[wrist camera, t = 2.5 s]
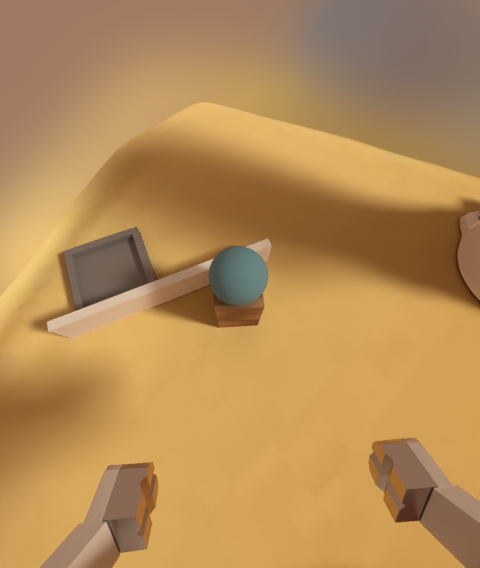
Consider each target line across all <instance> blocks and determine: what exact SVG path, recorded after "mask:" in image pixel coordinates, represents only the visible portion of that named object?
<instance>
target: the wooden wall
mask: <svg viewBox="0 0 480 568" xmlns="http://www.w3.org/2000/svg"><path fill="white" fill-rule="evenodd" d="M246 247H247V248H250V249H252V250H254V251H255V252H257V253H258V254H259V255H260V256H261V257H262V259H263V260H264V262H265V263H266V262H268V259H269V255H270V251H271V247H272V244H271V243H270V241H269V239H268V238H267V239H265V240H262V241H259V242H257V243H254V244H251V245H249V246H246ZM212 261H213V259H212V260H209V261H206V262H204V263H201V264H198V265H196V266H193V267H191V268H188V269H185V270H183V271H180V272H177V273H175V274H172V275H169V276H167V277H164V278H161V279H159V280H156V281H154V282H151V283H148V284H146V285H143V286H140V287H138V288H135V289H132V290H130V291H127V292H124V293H122V294H119V295H117V296H114V297H111V298H109V299H106V300H103V301H101V302H98V303H95V304H93V305H90V306H87V307H85V308H82V309H80V310H77V311H74V312H72V313H69V314H66V315H64V316H61V317H58V318H56V319H53V320H50V321H48V322H47V326H48V331H49V332H52V333H55V334H59V335H62V336H65V337H68V338H71V339H74V338H76V337H79V336H81V335H84V334H86V333H89V332H91V331H94V330H97V329H99V328H102V327H104V326H107V325H109V324H112V323H114V322H117V321H119V320H122V319H124V318H127V317H129V316H132V315H134V314H137V313H139V312H142V311H145V310H147V309H150V308H152V307H155V306H157V305H160V304H162V303H165V302H167V301H170V300H172V299H175V298H177V297H180V296H182V295H185V294H187V293H190V292H192V291H195V290H198V289H200V288H203V287H205V286H208V285H210V284H209V277H208V274H209V268H210V265H211V263H212Z"/></svg>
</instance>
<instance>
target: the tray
mask: <svg viewBox="0 0 480 568" xmlns="http://www.w3.org/2000/svg"><path fill="white" fill-rule="evenodd" d="M63 254H64V259H65V263H66V268H67V273H68V277H69V282H70V287H71V291H72V296H73V300H74V305H75V310H76V311H77V310H80V309H82V308H85V307H87V306H90V305H93V304H95V303H98V302H101V301H103V300H106V299H109V298H111V297H114V296H117V295H119V294H122V293H124V292H127V291H130V290H132V289H135V288H138V287H140V286H143V285H146V284H148V283H151V282H154V281H156V280H157V279H156V277H155V274H154V271H153V268H152V265H151V262H150V260H149V257H148V254H147V251H146V248H145V245H144V243H143V240H142V237H141V234H140V232H139V230H138V228H137V227H135V228H132V229H129V230H126V231H123V232H120V233H117V234H114V235H111V236H108V237H105V238H102V239H99V240H96V241H93V242H90V243H87V244H84V245H81V246H78V247H75V248H72V249H69V250H66V251H63Z"/></svg>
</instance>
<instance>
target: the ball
mask: <svg viewBox="0 0 480 568" xmlns="http://www.w3.org/2000/svg"><path fill="white" fill-rule="evenodd" d="M208 277H209V284H210V287H211V289H212V291H213V293H214V294H215V295H216V296H217V297H218V298H219V299H220V300H221V301H223V302H225V303H227V304H230V305H234V306H242V305H247V304H250V303H252V302H254V301H255V300H256V299H258V298H259V297H260V296H261V295H262V293H263V292H264V290H265V288H266V285H267V281H268V270H267V266H266V264H265V262H264V260H263V259H262V257H261V256H260V255H259V254H258V253H257V252H255V251H254V250H252V249H250V248H247V247H243V246H233V247H229V248H227V249H224V250H223V251H221V252H220V253H219V254H217V255H216V257H215V258H214V259H213V261H212V263H211V265H210V268H209V274H208Z"/></svg>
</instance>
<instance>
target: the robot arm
mask: <svg viewBox="0 0 480 568" xmlns="http://www.w3.org/2000/svg"><path fill="white" fill-rule="evenodd" d="M460 228H461V233H462V238H461V241H460V244H459V248H458V265H459V269H460V272H461V274H462V277H463V279H464V281H465V282H466V284H467V286H468V287H469V289H470V290H471V291H472V293H473V294H474V295H475V296H476V297H477V298H478V299H479V300H480V211H475V212H470V213H468V214H466V215H464V216H463V217H461V218H460ZM372 450H373V451H374V452H373V453H372V454H371V455H370V456H369V468H370V472H371V475H372V478H373V480H374V482H375V484H376V485H377V486H378V487H379V488H380V489H381V490H382V491H384V499H383V500H384V502H385V504H386V505H387V507H388V509H389V511H390V513H391V515H392V517H393V519H394V521H395V522H408V521H420V523H421V524H422V525H423V526H424V527H425V528H426V529H427V530H428V531H429V532H430V533H431V534H432V535H433V536H434V537H435V538H436V539H437V540H438V541H439V542H440V543H441V544H442V545H443V546H444V547H445V548H446V549H448V550H449V551H450V552H451V553H452V554H453V555H454V556H455V557H456V558H457V559H458V560H459V561H460V562H461V563H462V564H463V565H464V566H465V567H466V568H480V501H479V500H477V499H476V498H474V497H473V496H471V495H470V494H469V493H467V492H466V491H464V490H463V489H461V488H460V487H459V486H453V485H452V484H451V482H450V481H449V480H448V478H447V477H446V476H445V475H444V473H443V472H442V471H441V469H440V468H439V467H438V465H437V464H436V463H435V461H434V460H433V459H432V457H431V456H430V455H429V454H428V452H427V451H426V450H425V448H424V447H423V446H422V444H421V443H420V442H419V441H418V440H417V439H416V438H404V439H391V440H382V441H375V442H373V444H372ZM153 472H154V465H153V462H147V463H135V464H121V465H111V466H108V467H107V469H106V470H105V472H104V474H103V477H102V479H101V482H100V484H99V487H98V489H97V491H96V494H95V496H94V499H93V501H92V504H91V506H90V509H89V511H88V514H87V516H86V519H85V521H84V523H83V524H79V525H78V526H77V527H76V528H75V529H74V530H73V531H72V532H71V534H70V535H69V536H68V537H67V538H66V539H65V540H64V541H63V542H62V544H61V545H60V546H59V547H58V548H57V549H56V550H55V551H54V552H53V554H52V555H51V556H50V557H49V558H48V559H47V560H46V561H45V562H44V564H43V565H42V566H41V567H40V568H112V567H113V565H114V564H115V562H116V561H117V559H118V557H119V556H120V553H123V552H130V551H137V550H144V549H147V545H148V541H149V536H150V531H151V526H152V521H151V518H150V514H151V512H152V511H153V510H154V508H155V506H156V501H157V493H158V480H157V476H156V475H155V474H153Z"/></svg>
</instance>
